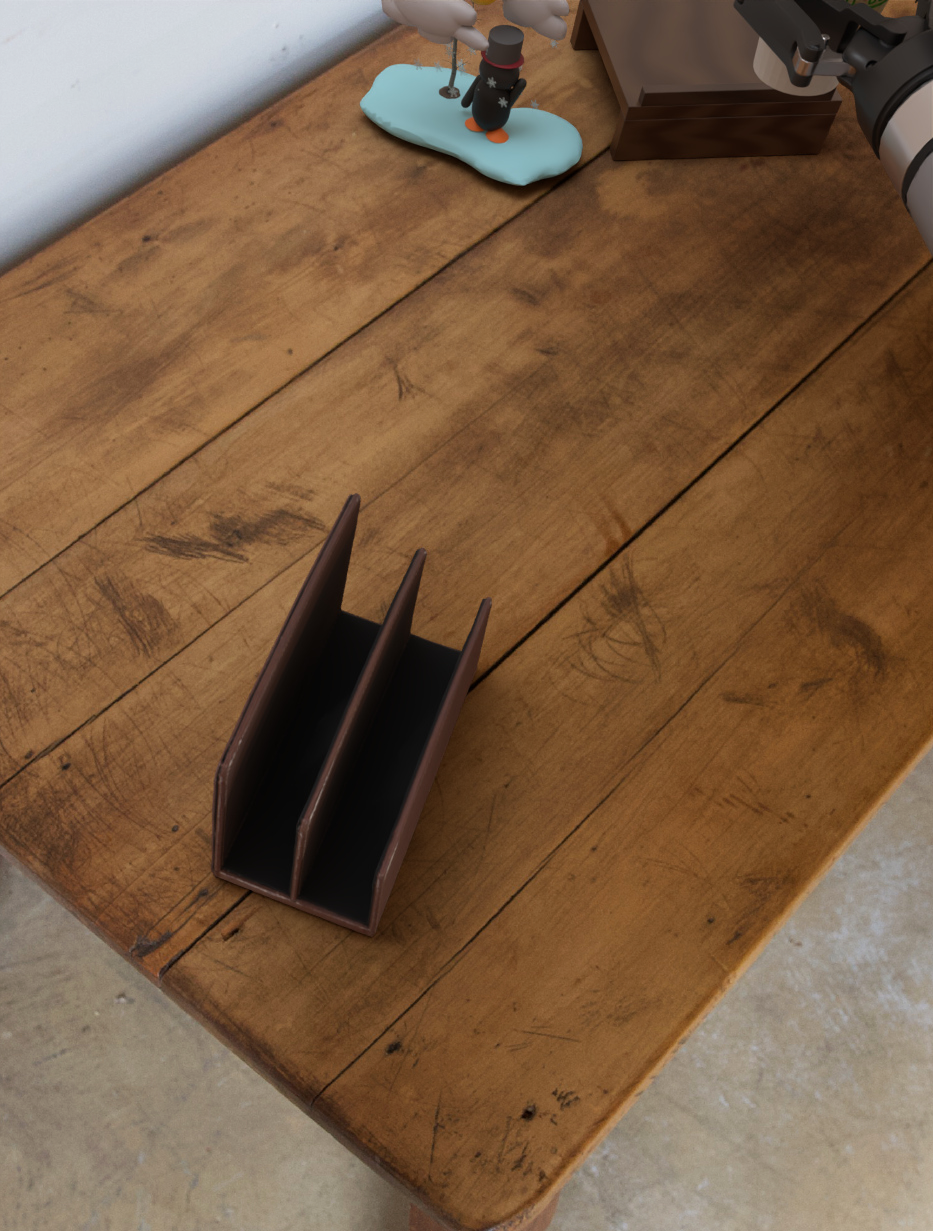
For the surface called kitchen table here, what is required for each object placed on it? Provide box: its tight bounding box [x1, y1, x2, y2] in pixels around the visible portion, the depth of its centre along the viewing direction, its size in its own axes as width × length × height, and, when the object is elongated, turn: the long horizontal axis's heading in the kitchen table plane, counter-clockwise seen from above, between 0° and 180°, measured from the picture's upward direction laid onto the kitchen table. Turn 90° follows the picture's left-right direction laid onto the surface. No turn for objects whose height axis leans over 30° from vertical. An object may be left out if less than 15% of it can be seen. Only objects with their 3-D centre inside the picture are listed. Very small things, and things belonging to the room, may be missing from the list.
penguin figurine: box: [359, 0, 584, 187], centre depth 103 cm, size 20×11×15 cm, turn 50°
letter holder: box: [210, 492, 493, 938], centre depth 70 cm, size 10×20×14 cm, turn 157°
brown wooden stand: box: [569, 0, 843, 161], centre depth 110 cm, size 18×18×6 cm
